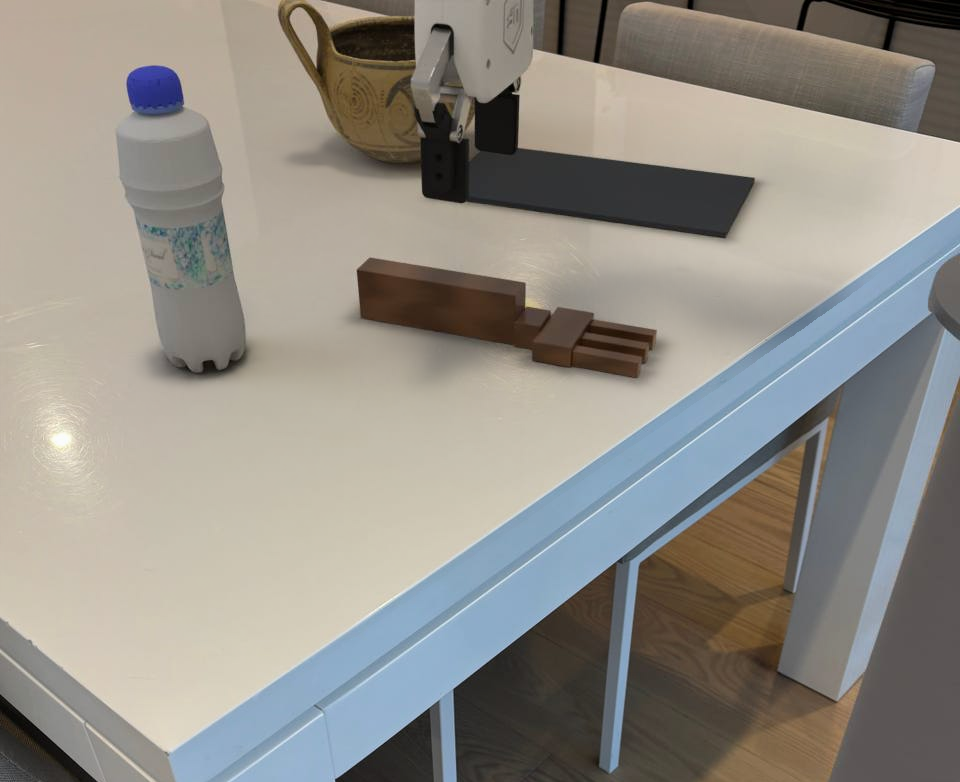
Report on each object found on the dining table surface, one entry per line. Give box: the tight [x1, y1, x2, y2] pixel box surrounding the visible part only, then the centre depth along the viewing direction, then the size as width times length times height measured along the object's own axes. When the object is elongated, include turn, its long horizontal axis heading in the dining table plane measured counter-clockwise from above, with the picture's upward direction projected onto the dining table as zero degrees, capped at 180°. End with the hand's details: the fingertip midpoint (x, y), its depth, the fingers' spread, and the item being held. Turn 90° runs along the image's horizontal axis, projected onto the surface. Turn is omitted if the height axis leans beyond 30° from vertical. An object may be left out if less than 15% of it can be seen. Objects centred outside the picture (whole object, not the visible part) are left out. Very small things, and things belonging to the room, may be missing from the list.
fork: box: [356, 257, 657, 378], centre depth 82 cm, size 23×6×4 cm, turn 69°
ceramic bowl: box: [277, 0, 475, 164], centre depth 107 cm, size 22×17×15 cm
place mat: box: [465, 147, 756, 238], centre depth 104 cm, size 28×14×1 cm, turn 69°
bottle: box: [115, 64, 247, 374], centre depth 74 cm, size 7×7×20 cm
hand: (471, 174), depth 76 cm, fingers open, 9 cm apart
